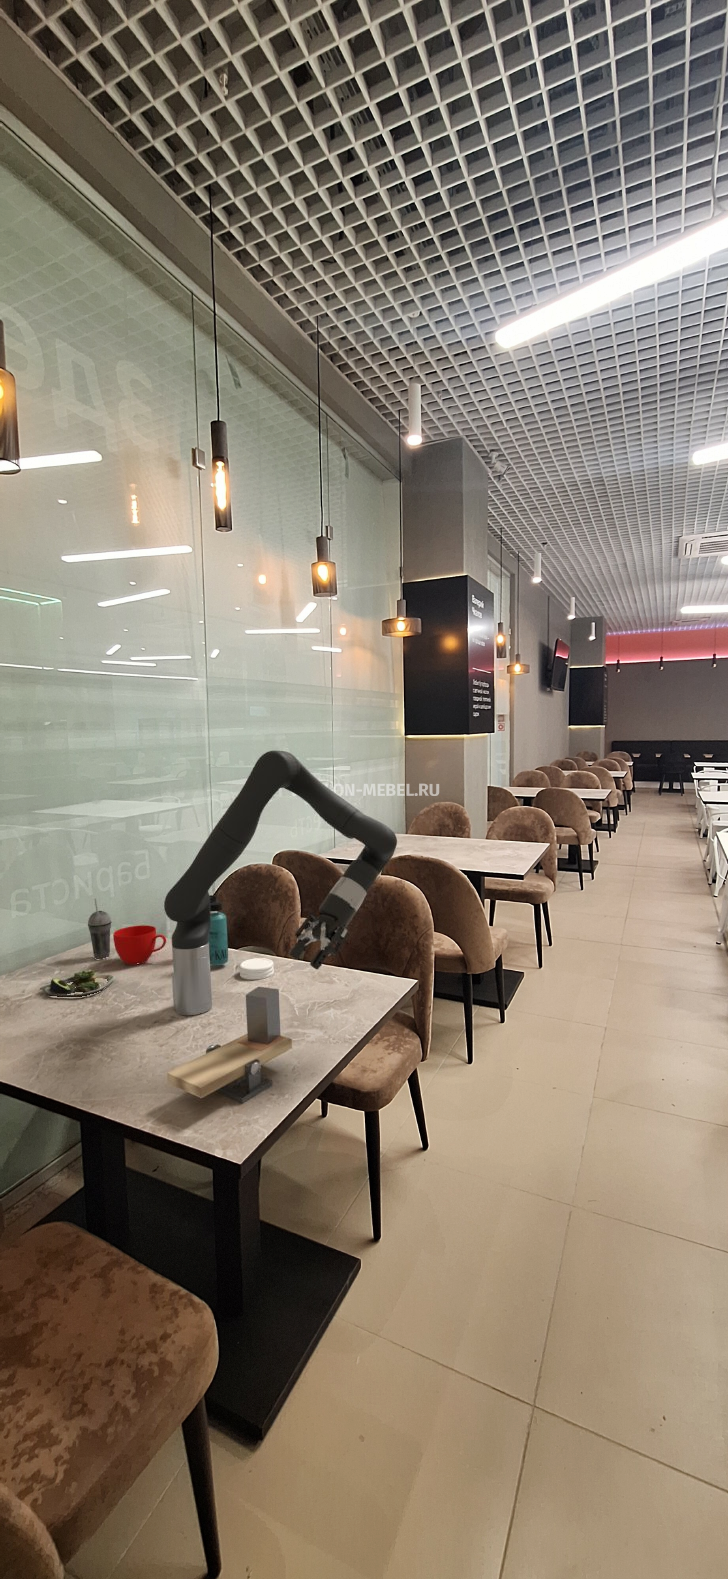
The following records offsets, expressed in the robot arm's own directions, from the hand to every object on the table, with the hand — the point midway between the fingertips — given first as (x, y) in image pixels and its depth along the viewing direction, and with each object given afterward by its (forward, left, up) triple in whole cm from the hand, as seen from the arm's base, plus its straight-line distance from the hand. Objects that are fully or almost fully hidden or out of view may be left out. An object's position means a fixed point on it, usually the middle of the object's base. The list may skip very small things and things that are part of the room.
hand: (302, 962), depth 146 cm
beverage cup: (-101, +11, -20) cm, 104 cm away
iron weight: (-3, -10, -14) cm, 17 cm away
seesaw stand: (-3, -19, -20) cm, 28 cm away
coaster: (-46, +28, -21) cm, 58 cm away
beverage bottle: (-61, +26, -20) cm, 69 cm away
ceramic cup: (-86, +16, -20) cm, 90 cm away
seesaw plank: (-3, -19, -15) cm, 24 cm away
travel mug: (-71, +31, -20) cm, 80 cm away
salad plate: (-81, -8, -21) cm, 84 cm away
